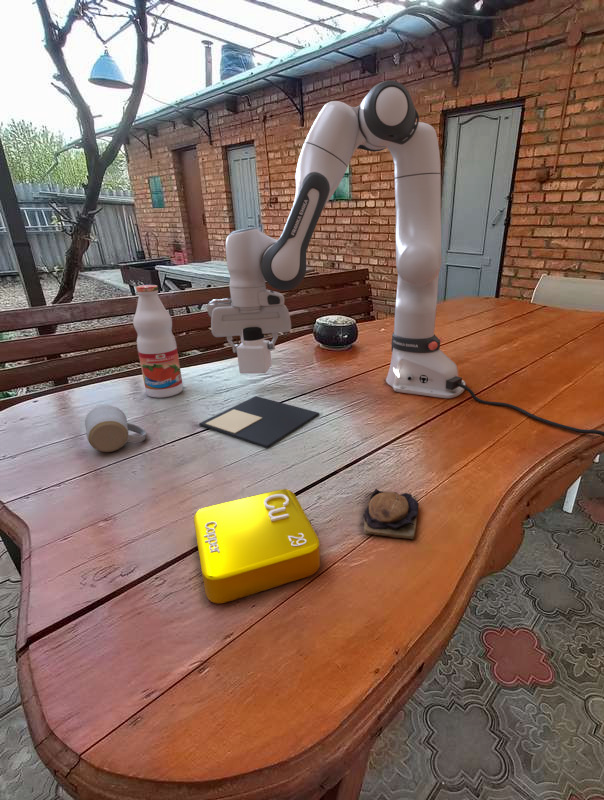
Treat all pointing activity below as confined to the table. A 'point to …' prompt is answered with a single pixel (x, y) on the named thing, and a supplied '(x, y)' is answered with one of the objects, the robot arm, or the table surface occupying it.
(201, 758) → the table surface
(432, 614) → the table surface
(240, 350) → the medicine bottle
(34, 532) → the table surface
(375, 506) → the brown layered stack
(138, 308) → the fruit juice
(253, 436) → the mat
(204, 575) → the element tile
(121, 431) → the ceramic mug
